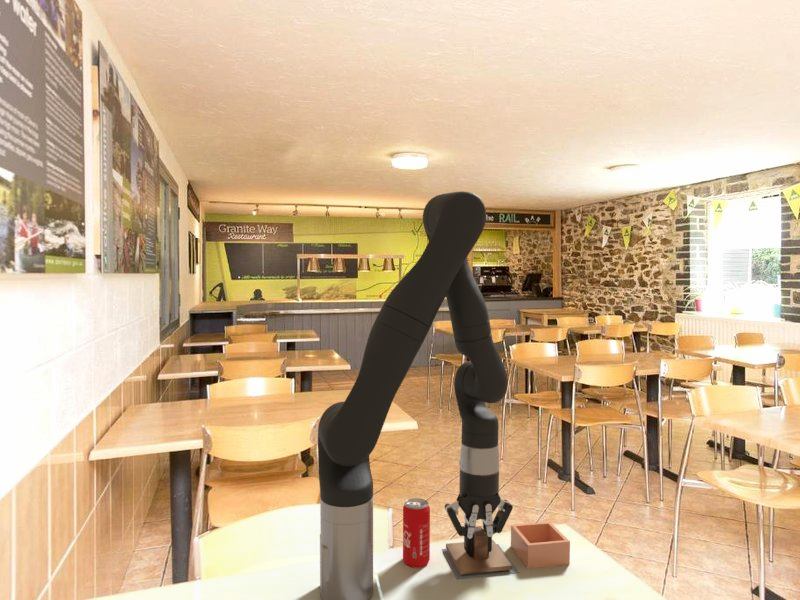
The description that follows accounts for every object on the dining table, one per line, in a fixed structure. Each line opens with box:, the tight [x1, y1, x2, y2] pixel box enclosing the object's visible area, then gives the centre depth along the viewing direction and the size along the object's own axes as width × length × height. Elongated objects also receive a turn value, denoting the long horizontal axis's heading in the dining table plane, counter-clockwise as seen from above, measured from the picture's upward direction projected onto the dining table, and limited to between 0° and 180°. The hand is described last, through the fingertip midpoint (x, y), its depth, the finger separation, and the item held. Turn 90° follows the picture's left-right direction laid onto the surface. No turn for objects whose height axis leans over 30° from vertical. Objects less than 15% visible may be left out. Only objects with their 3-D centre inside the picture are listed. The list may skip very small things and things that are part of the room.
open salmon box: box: [510, 521, 571, 569], centre depth 108 cm, size 8×8×5 cm
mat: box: [441, 543, 520, 580], centre depth 106 cm, size 12×11×1 cm
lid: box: [445, 526, 512, 575], centre depth 106 cm, size 10×10×5 cm
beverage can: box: [402, 497, 431, 569], centre depth 105 cm, size 5×5×12 cm
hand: (477, 553), depth 106 cm, fingers closed on lid, 2 cm apart
